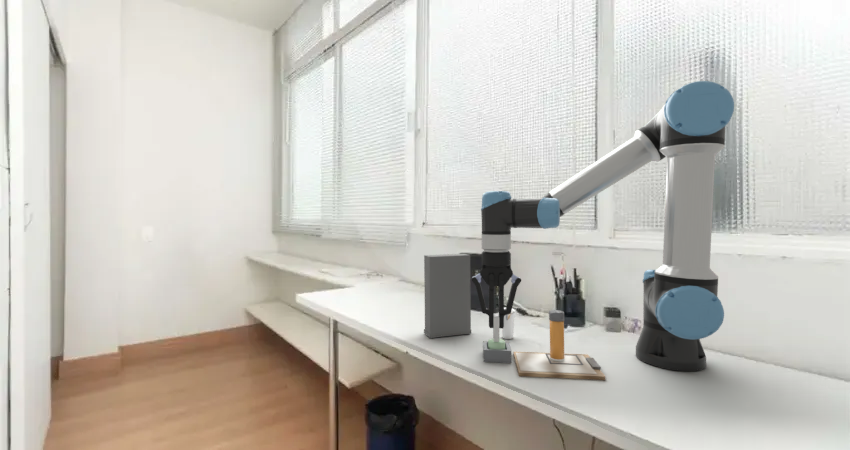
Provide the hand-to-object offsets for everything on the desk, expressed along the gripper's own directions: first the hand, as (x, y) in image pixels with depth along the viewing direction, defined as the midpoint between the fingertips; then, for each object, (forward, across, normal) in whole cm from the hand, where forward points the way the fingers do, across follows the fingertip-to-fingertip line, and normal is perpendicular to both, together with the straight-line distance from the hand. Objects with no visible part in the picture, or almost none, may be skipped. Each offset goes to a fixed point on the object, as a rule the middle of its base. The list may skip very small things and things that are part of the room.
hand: (496, 340), depth 101 cm
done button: (+4, 0, 0) cm, 4 cm away
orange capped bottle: (+4, -15, +2) cm, 16 cm away
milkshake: (+5, -5, -17) cm, 18 cm away
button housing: (+5, 0, 0) cm, 5 cm away
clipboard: (+5, -14, +4) cm, 15 cm away
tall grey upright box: (+5, +14, -19) cm, 24 cm away
